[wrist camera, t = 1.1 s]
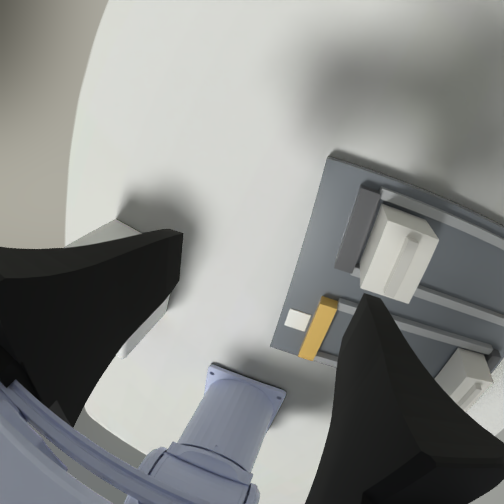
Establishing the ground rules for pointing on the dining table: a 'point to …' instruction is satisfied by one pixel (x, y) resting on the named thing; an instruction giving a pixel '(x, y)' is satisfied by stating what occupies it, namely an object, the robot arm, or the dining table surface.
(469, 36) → the dining table surface
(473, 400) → the tab
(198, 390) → the dining table surface
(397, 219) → the tab
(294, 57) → the dining table surface
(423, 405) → the robot arm
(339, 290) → the switch board
